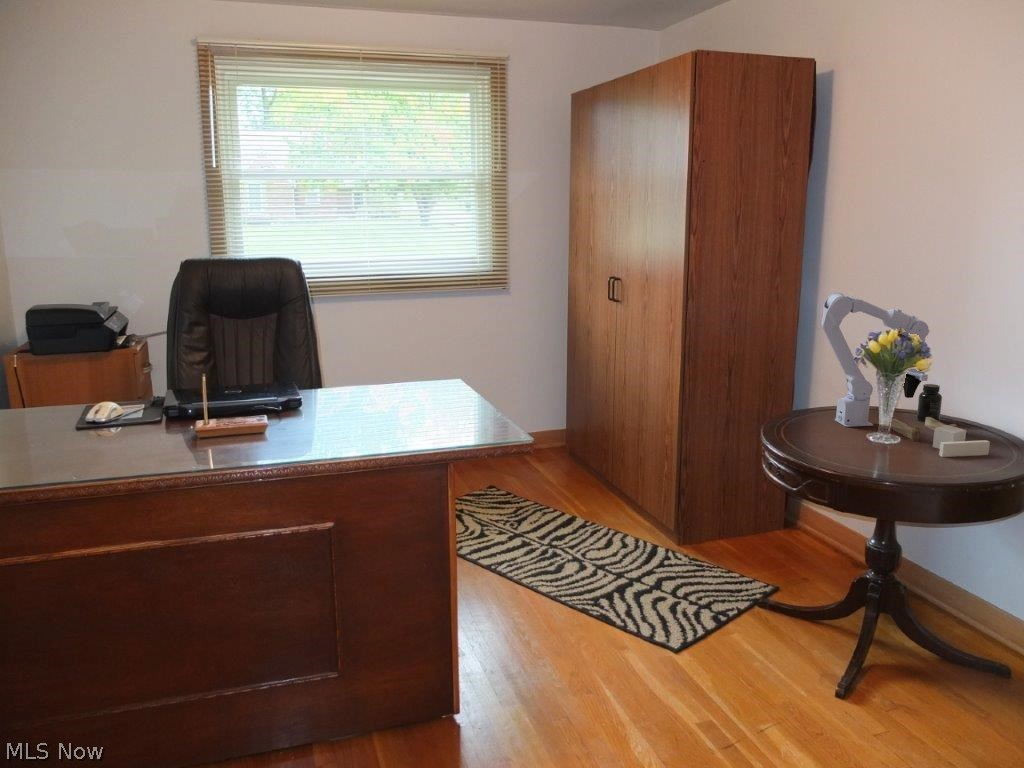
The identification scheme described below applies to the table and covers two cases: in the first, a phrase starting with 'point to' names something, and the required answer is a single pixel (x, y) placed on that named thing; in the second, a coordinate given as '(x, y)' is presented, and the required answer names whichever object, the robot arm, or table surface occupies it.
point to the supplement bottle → (929, 403)
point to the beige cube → (948, 435)
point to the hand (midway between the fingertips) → (908, 397)
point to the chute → (916, 427)
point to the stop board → (964, 448)
